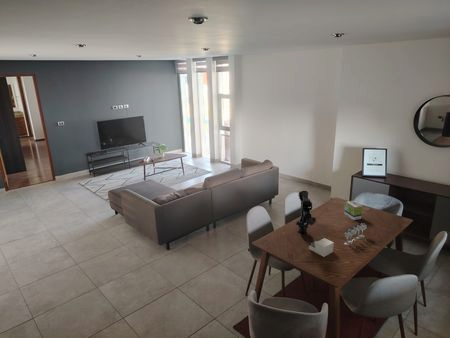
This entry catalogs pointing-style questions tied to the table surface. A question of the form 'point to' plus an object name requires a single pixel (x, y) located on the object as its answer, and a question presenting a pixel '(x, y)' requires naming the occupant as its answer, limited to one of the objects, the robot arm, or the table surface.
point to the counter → (323, 247)
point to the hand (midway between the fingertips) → (305, 230)
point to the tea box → (353, 210)
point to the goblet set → (354, 231)
